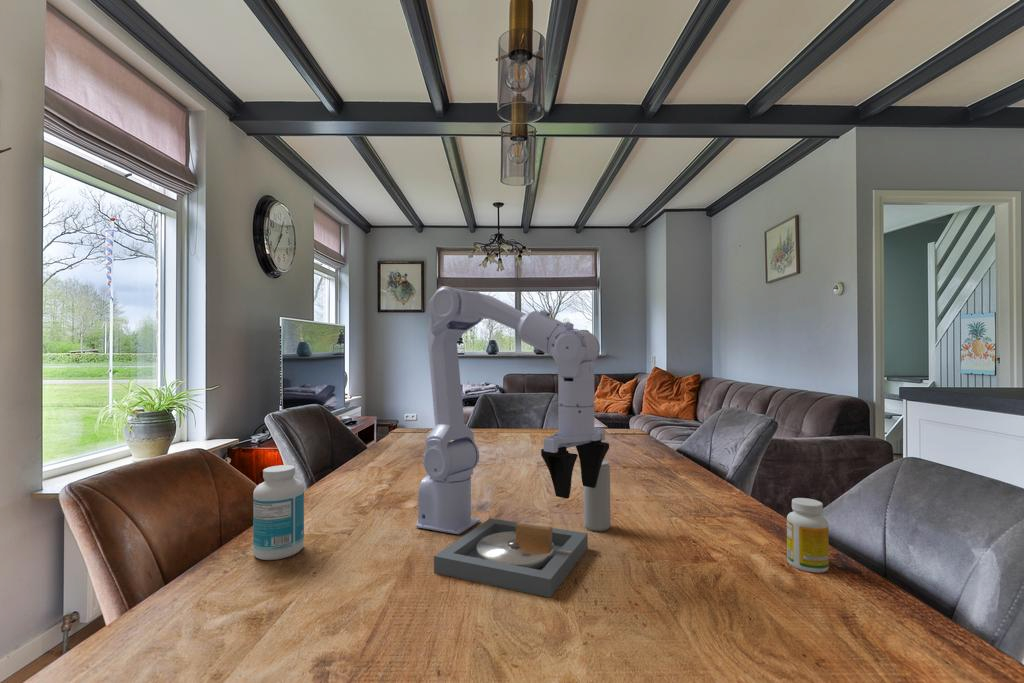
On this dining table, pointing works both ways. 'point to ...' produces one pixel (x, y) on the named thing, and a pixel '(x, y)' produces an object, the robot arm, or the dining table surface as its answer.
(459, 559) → the slate tray
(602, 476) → the beverage can
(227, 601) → the dining table surface
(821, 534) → the supplement bottle
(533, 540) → the dial
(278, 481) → the pill bottle
